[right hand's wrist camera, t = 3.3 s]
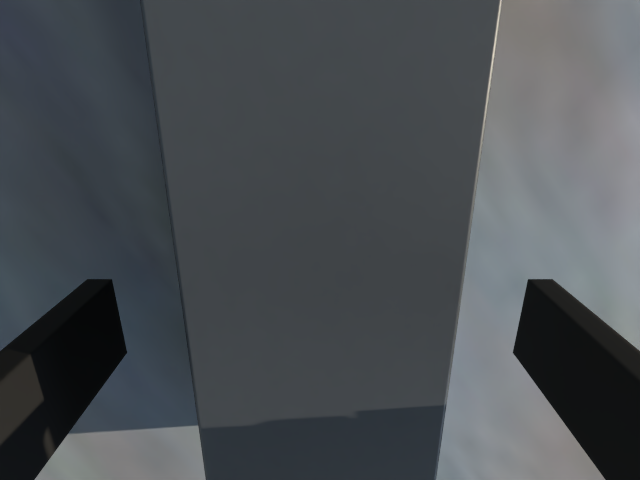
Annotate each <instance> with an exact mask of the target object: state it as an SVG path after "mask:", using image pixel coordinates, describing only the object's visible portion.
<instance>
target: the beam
mask: <svg viewBox="0 0 640 480" xmlns="http://www.w3.org/2000/svg"><path fill="white" fill-rule="evenodd" d="M502 1H503V0H140V3H141V10H142V18H143V25H144V32H145V39H146V47H147V54H148V61H149V69H150V76H151V83H152V90H153V98H154V105H155V112H156V120H157V127H158V134H159V141H160V149H161V156H162V163H163V171H164V178H165V185H166V192H167V200H168V207H169V214H170V222H171V229H172V236H173V243H174V251H175V258H176V265H177V272H178V280H179V287H180V294H181V302H182V309H183V316H184V323H185V331H186V338H187V345H188V353H189V360H190V367H191V374H192V382H193V389H194V396H195V404H196V411H197V418H198V425H199V433H200V440H201V447H202V455H203V462H204V469H205V476H206V480H436V475H437V468H438V461H439V453H440V446H441V439H442V432H443V425H444V418H445V410H446V403H447V396H448V389H449V382H450V374H451V367H452V360H453V353H454V346H455V339H456V331H457V324H458V317H459V310H460V303H461V295H462V288H463V281H464V274H465V267H466V260H467V252H468V245H469V238H470V231H471V224H472V216H473V209H474V202H475V195H476V188H477V181H478V173H479V166H480V159H481V152H482V145H483V138H484V130H485V123H486V116H487V109H488V102H489V94H490V87H491V80H492V73H493V66H494V59H495V51H496V44H497V37H498V30H499V23H500V15H501V8H502Z"/></svg>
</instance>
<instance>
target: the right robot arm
mask: <svg viewBox="0 0 640 480" xmlns="http://www.w3.org/2000/svg"><path fill="white" fill-rule="evenodd" d="M126 353H127V350H126V346H125V341H124V336H123V331H122V326H121V321H120V316H119V312H118V307H117V302H116V297H115V292H114V287H113V283H112V279H87V280H86V281H85V282H84V283H82V284H81V285H80V286H79V287H78V288H76V289H75V290H74V291H73V292H72V293H70V294H69V295H68V296H67V297H65V298H64V299H63V300H62V301H61V302H59V303H58V304H57V305H56V306H54V307H53V308H52V309H51V310H50V311H48V312H47V313H46V314H45V315H44V316H42V317H41V318H40V319H39V320H37V321H36V322H35V323H34V324H33V325H31V326H30V327H29V328H28V329H27V330H25V331H24V332H23V333H22V334H20V335H19V336H18V337H17V338H16V339H14V340H13V341H12V342H11V343H10V344H8V345H7V346H6V347H5V348H3V349H2V350H1V351H0V480H34V479H35V478H36V477H37V475H38V474H39V473H40V471H41V470H42V468H43V467H44V466H45V464H46V463H47V462H48V460H49V459H50V457H51V456H52V455H53V453H54V452H55V451H56V449H57V448H58V447H59V445H60V444H61V442H62V441H63V440H64V438H65V437H66V436H67V434H68V433H69V431H70V430H71V429H72V427H73V426H74V425H75V423H76V422H77V420H78V419H79V418H80V416H81V415H82V414H83V412H84V411H85V409H86V408H87V407H88V405H89V404H90V403H91V401H92V400H93V399H94V397H95V396H96V394H97V393H98V392H99V390H100V389H101V388H102V386H103V385H104V383H105V382H106V381H107V379H108V378H109V377H110V375H111V374H112V372H113V371H114V370H115V368H116V367H117V366H118V364H119V363H120V361H121V360H122V359H123V357H124V356H125V355H126ZM513 353H514V355H515V356H516V357H517V359H518V360H519V362H520V363H521V364H522V366H523V367H524V368H525V370H526V371H527V372H528V374H529V375H530V377H531V378H532V379H533V381H534V382H535V383H536V385H537V386H538V388H539V389H540V390H541V392H542V393H543V394H544V396H545V397H546V399H547V400H548V401H549V403H550V404H551V405H552V407H553V408H554V410H555V411H556V412H557V414H558V415H559V416H560V418H561V419H562V420H563V422H564V423H565V425H566V426H567V427H568V429H569V430H570V431H571V433H572V434H573V436H574V437H575V438H576V440H577V441H578V442H579V444H580V445H581V447H582V448H583V449H584V451H585V452H586V453H587V455H588V456H589V458H590V459H591V460H592V462H593V463H594V464H595V466H596V467H597V468H598V470H599V471H600V473H601V474H602V475H603V477H604V478H605V479H606V480H640V351H639V350H638V349H636V348H635V347H634V346H633V345H632V344H630V343H629V342H628V341H627V340H626V339H624V338H623V337H622V336H621V335H619V334H618V333H617V332H616V331H615V330H613V329H612V328H611V327H610V326H609V325H607V324H606V323H605V322H604V321H602V320H601V319H600V318H599V317H598V316H596V315H595V314H594V313H593V312H592V311H590V310H589V309H588V308H587V307H585V306H584V305H583V304H582V303H581V302H579V301H578V300H577V299H576V298H575V297H573V296H572V295H571V294H570V293H568V292H567V291H566V290H565V289H564V288H562V287H561V286H560V285H559V284H558V283H556V282H555V281H554V280H553V279H528V283H527V287H526V292H525V297H524V302H523V307H522V312H521V316H520V321H519V326H518V331H517V336H516V341H515V345H514V350H513Z"/></svg>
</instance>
